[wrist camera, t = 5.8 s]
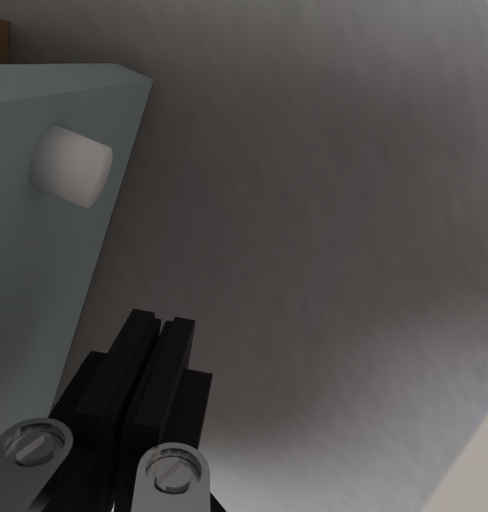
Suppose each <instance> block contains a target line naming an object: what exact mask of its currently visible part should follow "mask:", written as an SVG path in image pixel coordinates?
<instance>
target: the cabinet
mask: <svg viewBox="0 0 488 512" xmlns="http://www.w3.org/2000/svg"><path fill="white" fill-rule="evenodd" d="M0 64H9V22H8V21H3V20H0Z"/></svg>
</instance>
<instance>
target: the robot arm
mask: <svg viewBox="0 0 488 512" xmlns="http://www.w3.org/2000/svg"><path fill="white" fill-rule="evenodd" d="M154 317H155V314H154V313H153V312H148V311H143V310H138V309H133V310H132V312H131V314H130V315H129V317H128V319H127V321H126V322H125V324H124V326H123V327H122V329H121V331H120V333H119V334H118V336H117V338H116V340H115V341H114V343H113V345H112V346H111V348H110V350H109V352H108V353H107V354H106V353H101V352H96V351H92V352H90V353H89V354H88V356H87V357H86V359H85V360H84V362H83V363H82V365H81V367H80V368H79V370H78V371H77V373H76V374H75V376H74V377H73V379H72V381H71V382H70V384H69V385H68V387H67V388H66V390H65V391H64V393H63V395H62V396H61V398H60V399H59V401H58V402H57V404H56V405H55V407H54V409H53V410H52V412H51V413H50V415H49V416H48V418H32V419H28V420H24V421H21V422H19V423H17V424H15V425H13V426H11V427H10V428H9V429H7V430H6V431H5V432H3V433H2V434H1V435H0V512H111V511H112V508H113V505H114V502H115V505H114V512H226V511H225V509H224V508H223V507H222V506H221V504H220V503H219V502H218V501H217V500H216V498H215V497H214V496H213V495H212V494H211V492H210V471H209V466H208V463H207V461H206V459H205V458H204V456H203V455H202V454H201V453H200V452H199V451H198V447H199V442H200V437H201V432H202V427H203V422H204V417H205V412H206V407H207V402H208V397H209V392H210V386H211V381H212V376H213V374H211V373H205V372H200V371H195V370H190V369H188V364H189V358H190V352H191V345H192V339H193V333H194V327H195V320H190V319H185V318H180V317H175V318H174V320H173V322H172V321H166V322H165V324H164V327H163V329H162V331H161V334H160V326H161V319H156V318H154ZM159 334H160V336H159Z"/></svg>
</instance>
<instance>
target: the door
mask: <svg viewBox="0 0 488 512" xmlns="http://www.w3.org/2000/svg"><path fill="white" fill-rule="evenodd" d="M153 80H154V79H151V78H149V77H147V76H144V75H142V74H140V73H137V72H135V71H133V70H131V69H128V68H126V67H124V66H121V65H119V64H117V63H86V64H0V435H1V434H2V433H3V432H5V431H6V430H7V429H9V428H10V427H11V426H13V425H15V424H17V423H19V422H21V421H24V420H28V419H32V418H48V416H49V414H50V411H51V408H52V404H53V401H54V398H55V395H56V392H57V388H58V385H59V382H60V379H61V376H62V372H63V369H64V366H65V363H66V360H67V356H68V353H69V350H70V347H71V343H72V340H73V337H74V334H75V331H76V327H77V324H78V321H79V318H80V315H81V311H82V308H83V305H84V302H85V299H86V295H87V292H88V289H89V286H90V283H91V279H92V276H93V273H94V270H95V266H96V263H97V260H98V257H99V254H100V250H101V247H102V244H103V241H104V238H105V234H106V231H107V228H108V225H109V222H110V218H111V215H112V212H113V209H114V206H115V202H116V199H117V196H118V193H119V190H120V186H121V183H122V180H123V177H124V173H125V170H126V167H127V164H128V161H129V157H130V154H131V151H132V148H133V145H134V141H135V138H136V135H137V132H138V129H139V125H140V122H141V119H142V116H143V113H144V109H145V106H146V103H147V100H148V96H149V93H150V90H151V87H152V84H153Z"/></svg>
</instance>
